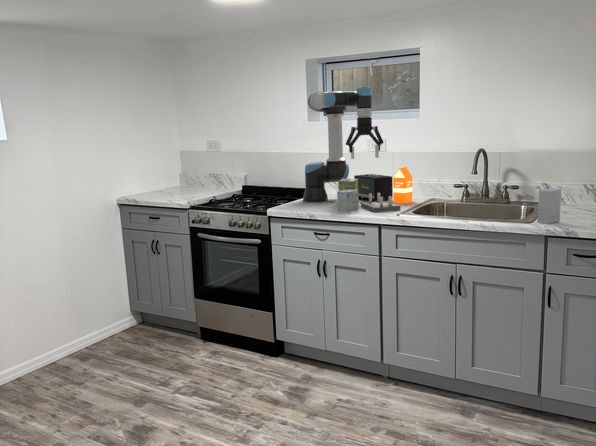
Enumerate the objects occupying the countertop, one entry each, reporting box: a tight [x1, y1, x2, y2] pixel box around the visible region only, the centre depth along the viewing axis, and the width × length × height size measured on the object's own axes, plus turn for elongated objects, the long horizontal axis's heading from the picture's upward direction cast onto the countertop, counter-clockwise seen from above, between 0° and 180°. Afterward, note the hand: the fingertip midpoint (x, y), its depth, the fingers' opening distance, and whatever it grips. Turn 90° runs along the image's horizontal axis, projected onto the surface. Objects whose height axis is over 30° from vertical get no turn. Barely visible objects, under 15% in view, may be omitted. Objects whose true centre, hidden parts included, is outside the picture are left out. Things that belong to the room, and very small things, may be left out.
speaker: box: [353, 173, 394, 202], centre depth 334 cm, size 22×13×15 cm, turn 28°
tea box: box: [337, 178, 358, 191], centre depth 316 cm, size 15×10×15 cm
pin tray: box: [360, 193, 401, 213], centre depth 300 cm, size 19×15×8 cm
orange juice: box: [392, 166, 413, 204], centre depth 319 cm, size 8×9×20 cm
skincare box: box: [537, 187, 562, 225], centre depth 246 cm, size 8×6×15 cm
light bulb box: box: [336, 189, 360, 213], centre depth 299 cm, size 11×7×11 cm, turn 136°
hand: (364, 158), depth 290 cm, fingers open, 13 cm apart
